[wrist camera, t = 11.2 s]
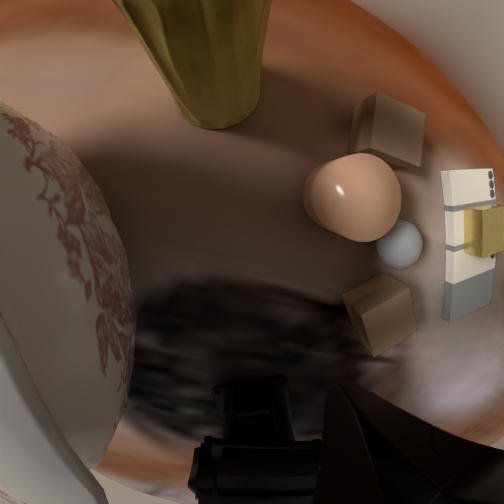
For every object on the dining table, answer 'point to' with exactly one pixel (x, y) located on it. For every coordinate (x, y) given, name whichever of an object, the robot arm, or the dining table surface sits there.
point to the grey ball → (400, 245)
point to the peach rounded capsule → (353, 196)
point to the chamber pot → (58, 320)
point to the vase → (204, 53)
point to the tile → (483, 229)
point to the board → (457, 261)
